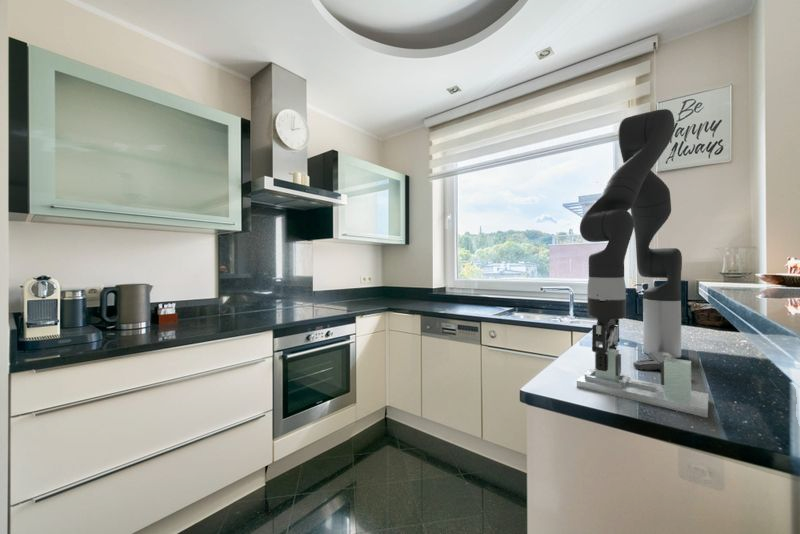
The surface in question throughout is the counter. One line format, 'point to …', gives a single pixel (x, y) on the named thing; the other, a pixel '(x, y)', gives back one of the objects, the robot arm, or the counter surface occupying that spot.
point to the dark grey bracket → (652, 361)
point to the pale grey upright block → (611, 366)
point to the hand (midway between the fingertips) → (606, 365)
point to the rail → (655, 388)
